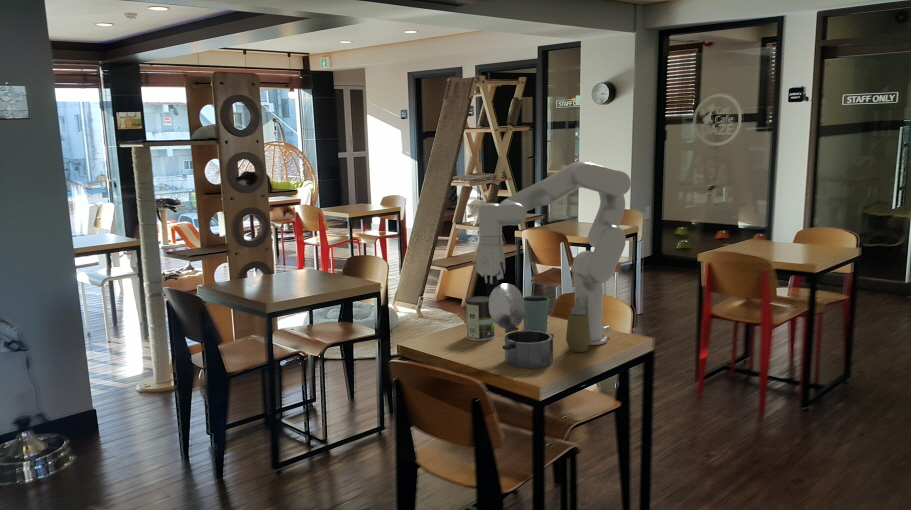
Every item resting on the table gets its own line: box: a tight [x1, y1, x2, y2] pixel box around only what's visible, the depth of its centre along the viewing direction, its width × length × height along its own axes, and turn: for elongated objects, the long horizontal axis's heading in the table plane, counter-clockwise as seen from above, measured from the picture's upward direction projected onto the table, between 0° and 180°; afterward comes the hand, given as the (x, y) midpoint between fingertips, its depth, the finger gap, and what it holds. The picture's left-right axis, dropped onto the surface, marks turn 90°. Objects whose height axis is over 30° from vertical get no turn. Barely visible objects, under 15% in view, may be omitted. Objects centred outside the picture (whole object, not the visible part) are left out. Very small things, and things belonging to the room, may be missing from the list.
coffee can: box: [465, 295, 496, 342], centre depth 255 cm, size 10×10×14 cm
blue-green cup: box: [522, 295, 550, 333], centre depth 262 cm, size 10×10×12 cm
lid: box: [488, 283, 525, 334], centre depth 233 cm, size 15×16×3 cm
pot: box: [501, 330, 555, 370], centre depth 226 cm, size 21×15×8 cm
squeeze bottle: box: [565, 297, 590, 353], centre depth 235 cm, size 8×8×18 cm
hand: (491, 294), depth 237 cm, fingers closed
